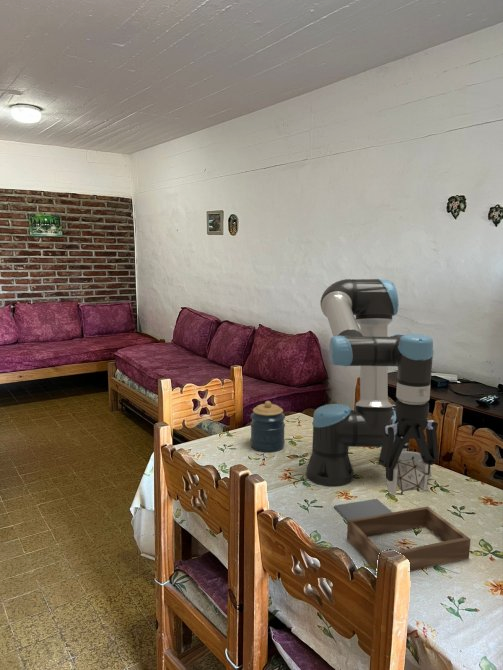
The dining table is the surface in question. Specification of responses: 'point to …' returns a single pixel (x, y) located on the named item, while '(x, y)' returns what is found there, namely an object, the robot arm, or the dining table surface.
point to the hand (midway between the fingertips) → (406, 489)
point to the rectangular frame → (419, 557)
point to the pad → (362, 509)
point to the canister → (267, 428)
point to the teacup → (408, 456)
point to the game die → (409, 475)
